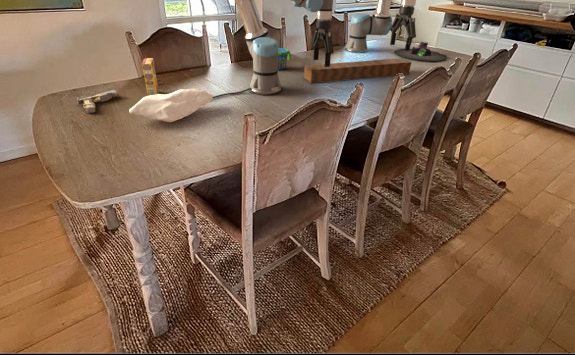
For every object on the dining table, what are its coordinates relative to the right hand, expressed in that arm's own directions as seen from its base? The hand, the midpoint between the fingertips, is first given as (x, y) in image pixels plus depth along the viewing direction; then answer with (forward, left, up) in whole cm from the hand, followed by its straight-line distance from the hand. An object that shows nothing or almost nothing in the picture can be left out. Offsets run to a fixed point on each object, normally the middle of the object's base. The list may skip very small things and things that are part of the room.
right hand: (399, 47), depth 203 cm
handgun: (+22, -153, -14) cm, 156 cm away
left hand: (+5, -48, -5) cm, 49 cm away
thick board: (+2, -24, -14) cm, 28 cm away
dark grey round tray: (-34, +39, -14) cm, 54 cm away
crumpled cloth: (+39, -124, -14) cm, 131 cm away
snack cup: (-18, -65, -14) cm, 69 cm away
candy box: (+15, -133, -14) cm, 134 cm away
